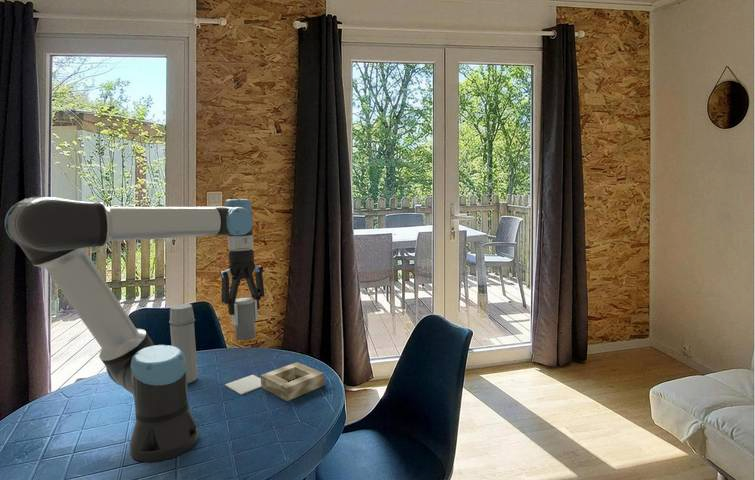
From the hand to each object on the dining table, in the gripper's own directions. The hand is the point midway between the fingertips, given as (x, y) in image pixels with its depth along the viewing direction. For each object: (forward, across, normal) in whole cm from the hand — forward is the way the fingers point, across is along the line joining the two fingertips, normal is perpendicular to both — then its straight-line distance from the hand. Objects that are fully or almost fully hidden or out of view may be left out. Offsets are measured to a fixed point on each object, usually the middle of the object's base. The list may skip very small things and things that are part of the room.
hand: (244, 321), depth 139 cm
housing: (+21, +9, -11) cm, 25 cm away
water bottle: (+21, -11, +19) cm, 31 cm away
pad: (+21, 0, 0) cm, 21 cm away
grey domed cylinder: (+5, 0, 0) cm, 5 cm away
